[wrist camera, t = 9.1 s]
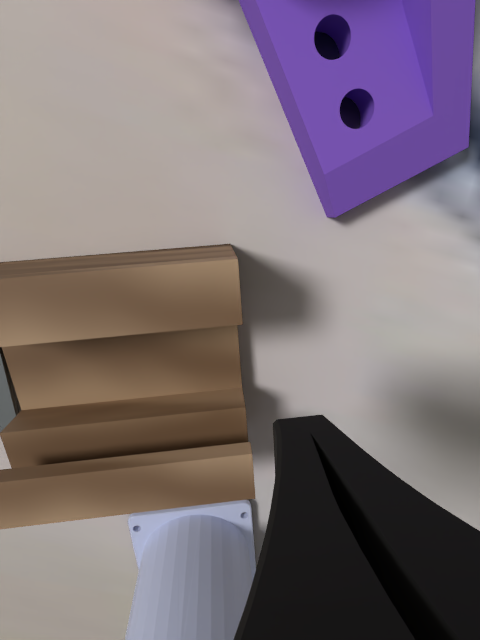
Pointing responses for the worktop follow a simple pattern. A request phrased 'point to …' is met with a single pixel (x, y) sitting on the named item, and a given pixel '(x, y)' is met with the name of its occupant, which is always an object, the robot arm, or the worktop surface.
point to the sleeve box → (123, 384)
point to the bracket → (369, 87)
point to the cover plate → (7, 395)
